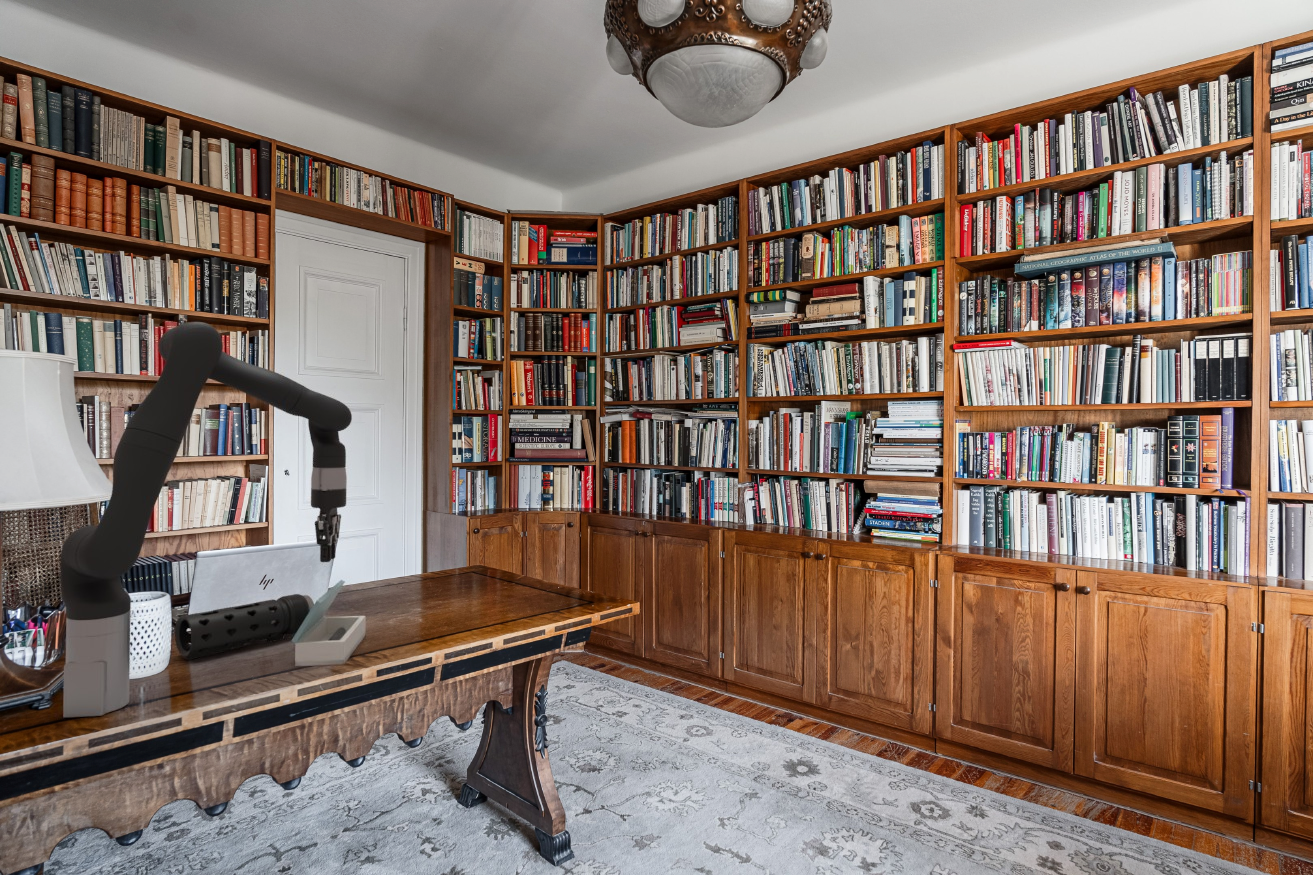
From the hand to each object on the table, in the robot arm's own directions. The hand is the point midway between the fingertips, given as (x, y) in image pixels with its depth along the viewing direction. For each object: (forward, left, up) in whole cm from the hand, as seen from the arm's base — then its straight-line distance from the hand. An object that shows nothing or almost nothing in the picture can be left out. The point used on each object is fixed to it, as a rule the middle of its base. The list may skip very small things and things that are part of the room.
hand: (327, 559), depth 164 cm
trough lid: (0, +1, -12) cm, 12 cm away
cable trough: (0, -1, -21) cm, 21 cm away
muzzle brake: (+6, +19, -22) cm, 29 cm away
